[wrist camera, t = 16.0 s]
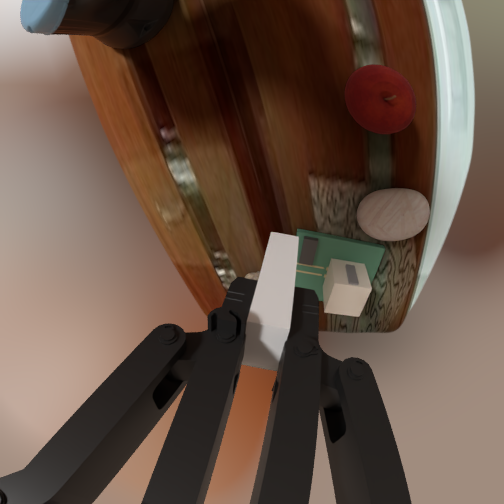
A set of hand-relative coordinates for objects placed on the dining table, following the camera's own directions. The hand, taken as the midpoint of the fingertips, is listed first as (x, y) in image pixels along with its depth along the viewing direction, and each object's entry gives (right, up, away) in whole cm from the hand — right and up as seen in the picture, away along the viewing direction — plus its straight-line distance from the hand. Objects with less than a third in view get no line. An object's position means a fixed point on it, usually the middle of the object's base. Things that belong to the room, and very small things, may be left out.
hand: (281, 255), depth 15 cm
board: (+13, -3, +34) cm, 37 cm away
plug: (+15, -4, +33) cm, 37 cm away
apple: (+16, +23, +18) cm, 33 cm away
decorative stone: (+22, +8, +26) cm, 35 cm away
